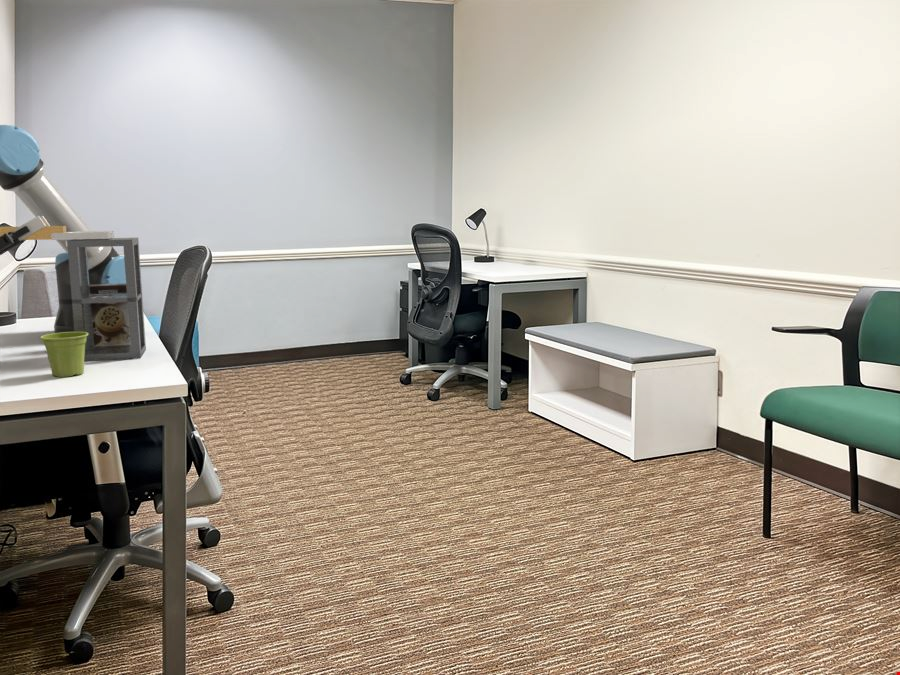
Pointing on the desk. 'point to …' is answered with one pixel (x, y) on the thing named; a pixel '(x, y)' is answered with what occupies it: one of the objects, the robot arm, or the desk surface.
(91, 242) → the rack
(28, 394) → the desk surface
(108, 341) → the coffee box
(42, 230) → the blanking panel
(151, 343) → the desk surface
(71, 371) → the plant pot
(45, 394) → the desk surface
